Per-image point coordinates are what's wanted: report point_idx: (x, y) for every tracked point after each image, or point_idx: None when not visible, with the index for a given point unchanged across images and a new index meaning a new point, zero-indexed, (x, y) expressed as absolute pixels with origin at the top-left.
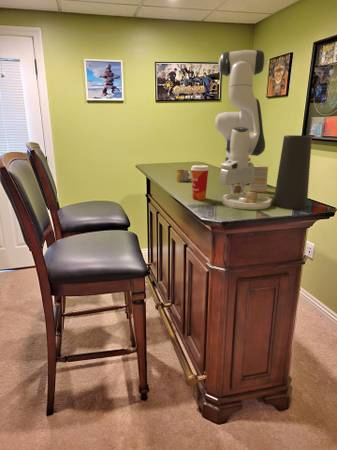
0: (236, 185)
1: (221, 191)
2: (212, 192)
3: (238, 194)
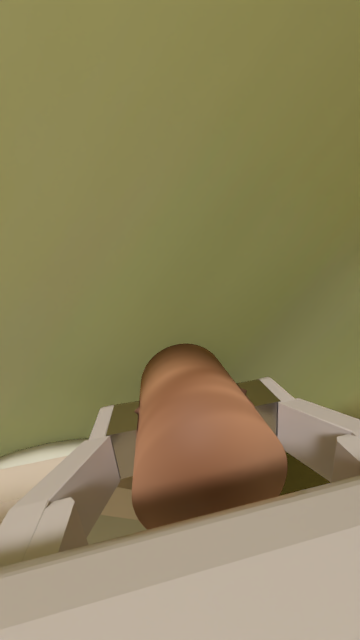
0: (239, 444)
1: (202, 72)
2: (34, 38)
3: (126, 505)
